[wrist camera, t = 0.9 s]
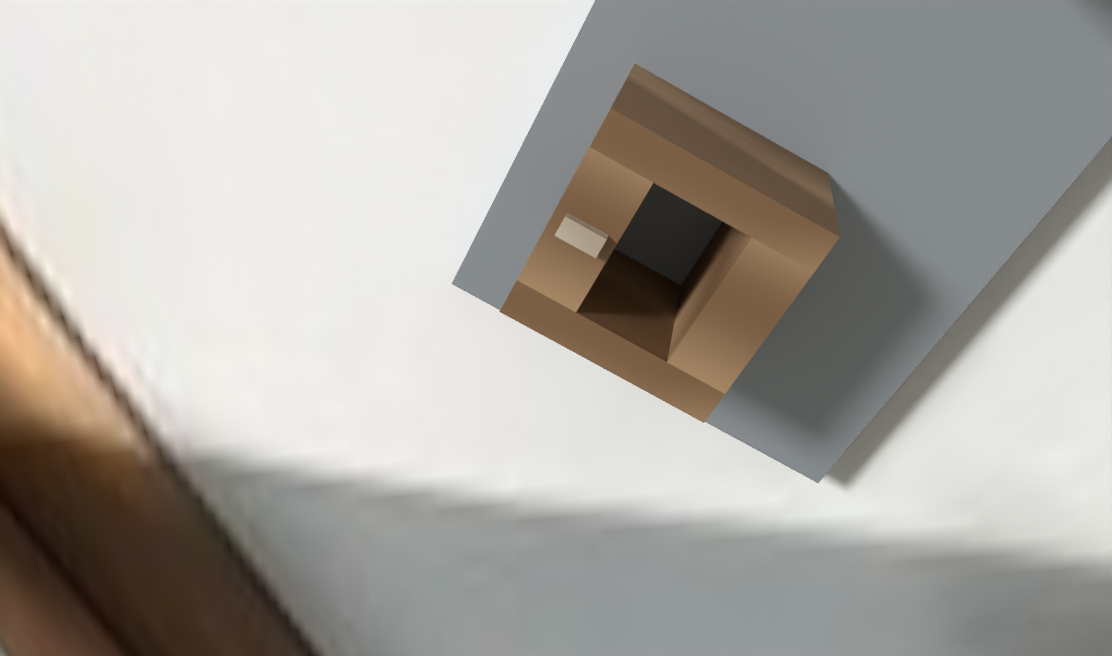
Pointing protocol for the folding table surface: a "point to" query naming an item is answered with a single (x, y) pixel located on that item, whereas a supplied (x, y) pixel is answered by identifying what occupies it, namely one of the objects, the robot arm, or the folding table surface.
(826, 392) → the shaft plate
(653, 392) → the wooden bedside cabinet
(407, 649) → the folding table surface
